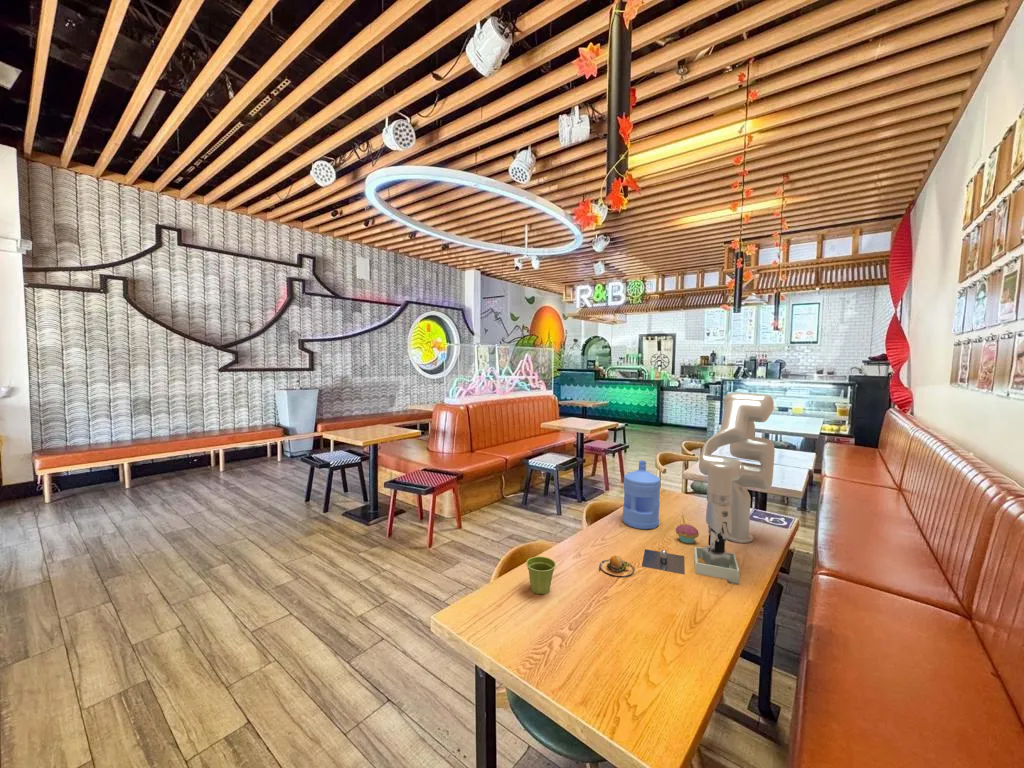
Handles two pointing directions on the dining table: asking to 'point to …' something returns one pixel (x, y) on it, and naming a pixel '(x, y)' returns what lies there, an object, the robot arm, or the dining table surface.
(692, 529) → the cupcake
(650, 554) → the stud block
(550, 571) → the plant pot
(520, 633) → the dining table surface
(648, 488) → the water jug
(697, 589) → the dining table surface
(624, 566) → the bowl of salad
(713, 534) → the grey piece
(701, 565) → the bin
